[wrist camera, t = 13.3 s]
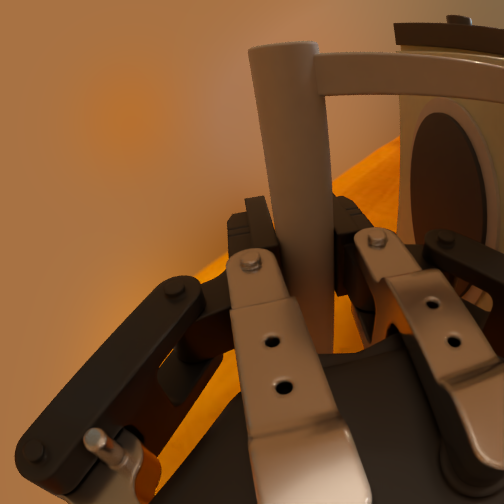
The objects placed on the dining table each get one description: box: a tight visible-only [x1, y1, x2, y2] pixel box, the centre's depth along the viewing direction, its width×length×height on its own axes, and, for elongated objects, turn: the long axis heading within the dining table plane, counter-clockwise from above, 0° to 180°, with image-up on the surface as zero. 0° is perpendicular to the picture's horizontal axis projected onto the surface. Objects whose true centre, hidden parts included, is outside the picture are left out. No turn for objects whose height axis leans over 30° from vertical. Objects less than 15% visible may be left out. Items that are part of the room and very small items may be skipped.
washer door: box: [248, 41, 504, 354], centre depth 14 cm, size 14×8×14 cm, turn 173°
